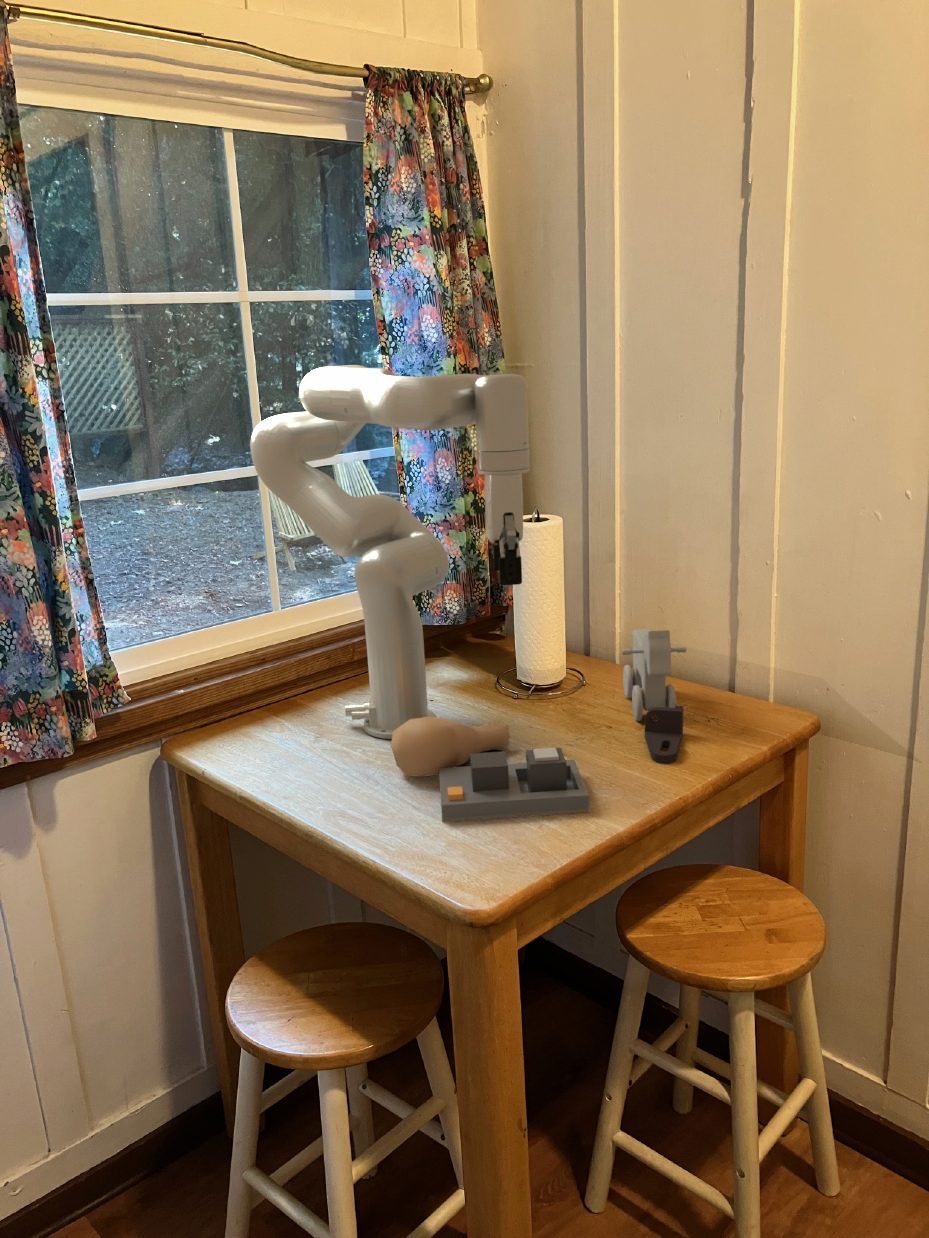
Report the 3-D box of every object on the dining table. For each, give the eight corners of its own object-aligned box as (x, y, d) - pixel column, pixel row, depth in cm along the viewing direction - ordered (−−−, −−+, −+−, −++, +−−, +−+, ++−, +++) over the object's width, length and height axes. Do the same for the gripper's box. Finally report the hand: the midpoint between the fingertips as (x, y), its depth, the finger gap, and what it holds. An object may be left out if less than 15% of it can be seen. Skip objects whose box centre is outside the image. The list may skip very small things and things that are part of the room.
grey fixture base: (442, 821, 130) (439, 781, 129) (439, 783, 142) (437, 746, 140) (589, 812, 131) (588, 771, 129) (574, 774, 142) (574, 737, 141)
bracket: (636, 763, 146) (636, 732, 145) (646, 732, 158) (646, 703, 156) (675, 766, 144) (675, 735, 143) (683, 734, 156) (683, 705, 155)
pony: (692, 731, 156) (693, 632, 152) (628, 733, 157) (627, 634, 152) (669, 689, 176) (670, 600, 171) (612, 692, 176) (611, 603, 172)
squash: (378, 775, 147) (375, 716, 146) (481, 755, 159) (479, 700, 158) (417, 786, 138) (414, 724, 137) (524, 764, 150) (521, 706, 149)
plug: (531, 800, 134) (530, 761, 132) (527, 785, 139) (526, 746, 137) (567, 798, 134) (566, 758, 132) (561, 783, 139) (560, 744, 137)
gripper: (474, 457, 148) (478, 566, 152) (481, 470, 131) (487, 592, 136) (522, 454, 148) (526, 563, 153) (536, 467, 132) (540, 589, 136)
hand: (507, 576), depth 144 cm, fingers open, 9 cm apart
